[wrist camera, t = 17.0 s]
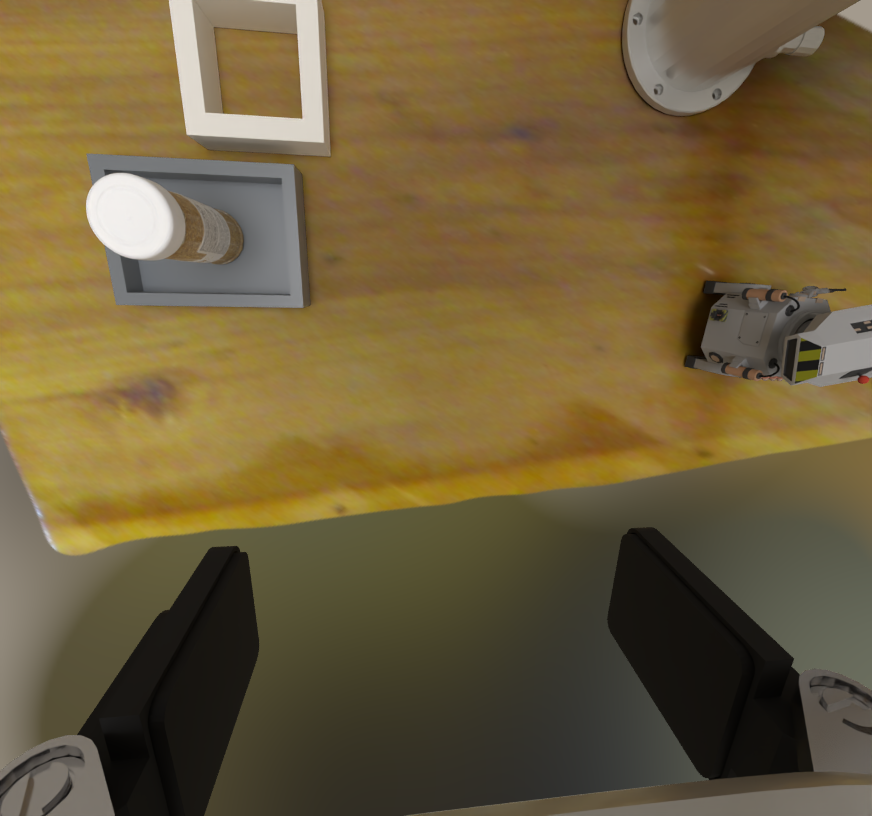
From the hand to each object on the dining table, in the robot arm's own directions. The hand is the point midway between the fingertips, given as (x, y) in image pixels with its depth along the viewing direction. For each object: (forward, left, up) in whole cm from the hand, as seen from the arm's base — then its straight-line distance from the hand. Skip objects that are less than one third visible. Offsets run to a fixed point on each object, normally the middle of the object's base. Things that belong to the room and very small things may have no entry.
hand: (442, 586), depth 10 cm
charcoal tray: (+16, -10, -33) cm, 38 cm away
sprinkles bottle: (+16, -10, -32) cm, 37 cm away
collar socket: (+11, -22, -33) cm, 41 cm away
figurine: (-35, -3, -34) cm, 49 cm away
